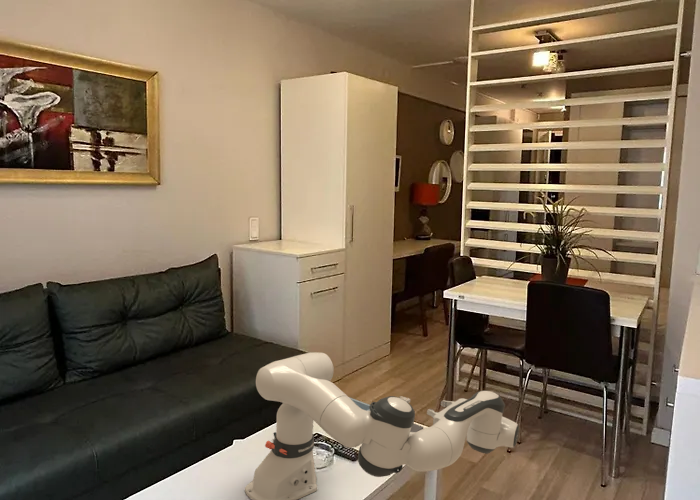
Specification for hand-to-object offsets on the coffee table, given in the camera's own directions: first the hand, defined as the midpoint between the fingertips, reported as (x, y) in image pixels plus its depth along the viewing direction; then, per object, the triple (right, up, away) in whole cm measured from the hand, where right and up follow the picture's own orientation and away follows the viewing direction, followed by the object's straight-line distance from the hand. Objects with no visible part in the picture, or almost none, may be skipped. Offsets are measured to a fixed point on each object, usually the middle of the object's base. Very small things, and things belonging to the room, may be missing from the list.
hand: (435, 406), depth 182 cm
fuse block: (-11, -13, +10) cm, 19 cm away
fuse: (-11, -13, +10) cm, 19 cm away
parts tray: (-31, -10, +22) cm, 39 cm away
